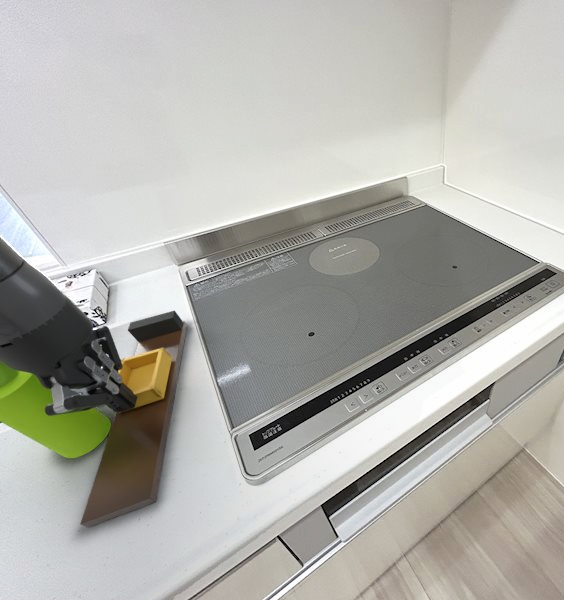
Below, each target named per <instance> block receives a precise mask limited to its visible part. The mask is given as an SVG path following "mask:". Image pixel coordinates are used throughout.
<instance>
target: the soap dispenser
mask: <svg viewBox="0 0 564 600" xmlns="http://www.w3.org/2000/svg"><path fill="white" fill-rule="evenodd" d="M52 403H53V397H52V391H51V389H47V388H45V387H43V386H42V385H41V383H40V381H39V380H38V378H37V377H36V376H35V375H34V374H31V373H28V372H23V371H18V370H14V369H11V368H10V367H8V366H7V365H5V364H4V363H2V362H1V361H0V423H2V424H4V425H6V426H7V427H9V428H11V429H13V430H14V431H16V432H18V433H20V434H22V435H23V436H26V437H27V438H29V439H31V440H32V441H34V442H36V443H38V444H39V445H41V446H43V447H45V448H47V449H48V450H51V451H52V452H54V453H56V454H57V455H60V456H61V457H63V458H65V459H76V458H80V457H82V456H84V455H86V454H88V453H91V452H92V451H93V450H95V449H96V448H97V447H98V446H100V445H101V444H102V443H103V441H104V440H105V439H106V438H107V436H109V433H110V430H111V427H112V421H111V420H110V418H109V417H107V416H106V415H105V414H103V413H102V412H101V411H99V410H98V409H96V407H94V408H92V409H90V410H86V411H80V412H73V413H67V414H60V415H53V416H48V415H47V414H46V413H45V407H46V406H47V405H49V404H52Z"/></svg>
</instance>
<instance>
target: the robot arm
mask: <svg viewBox="0 0 564 600" xmlns="http://www.w3.org/2000/svg"><path fill="white" fill-rule="evenodd" d="M121 360H122V359H121V357H120V355H119V351H118V349H117V346H116V344H115V341H114V338H113V336H112V333H111V330H110V328H109V327H108V326H107V325H103V326H99V327H96V328H94V322H93V321H92V319H91V318H90V317H89V316H88V315H87V314H86V313H85V312H83V310H81V308H79V306H77V304H75V302H73V300H72V299H70V298H69V297H68V296H67V294H65V293H64V292H63V291H62V290H61V289H60V288H59V286H57V285H56V284H55V283H54V282H53V281H52V279H50V278H49V277H48V276H47V275H46V274H45V273H44V272H42V271H41V270H39V269H38V268H37V267H36V266H34V265H33V264H32V263H30V262H29V261H28V260H27V259H25V258H24V257H23V255H22V254H20V253H19V252H18V251H17V250H16V249H15V248H14V247H13V246H12V245H11V244H10V243H9V242H8V241H7V240H6V239H5V238H4V237H3V236H2V235H0V361H1V362H2V363H4V364H5V365H7V366H8V367H10V368H11V369H14V370H18V371H23V372H28V373H31V374H34V375H35V376H36V377H37V378H38V380H39V381H40V383H41V385H42V386H43V387H45V388H47V389H51V391H52V397H53V403H52V404H49V405H47V406H46V407H45V413H46V414H47V415H48V416H53V415H60V414H67V413H73V412H80V411H86V410H90V409H92V408H98V407H101V406H104V405H105V406H106V407H108V408H109V409H110V410H111V411H113V412H114V413H115V414H116V413H119V412H123V411H126V410H129V409H132V408H134V407H135V405H136V401H137V396H136V395H135V394H134V393H133V391H132V390H131V389H129V388H128V387H127V386H126V385H125V384H124V383H123V382H122V377H121V375H120V374H119V373H118V370H121V369H122V368H123V365H122V362H121ZM83 395H85V396H83Z"/></svg>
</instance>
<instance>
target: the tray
mask: <svg viewBox="0 0 564 600" xmlns="http://www.w3.org/2000/svg"><path fill="white" fill-rule="evenodd" d="M171 361H172V357H171V356H170V355H169V353H168V352H167V351H166V350H165V349H164V348H160V349H156V350H153V351H149V352H146V353H143V354H139V355H136V356H134V355H133V356H129V357H126V358H122V359H121V362H122V365H123V368H122V369H121V370H118V373H119V374H120V375H121V377H122V382H123V383H124V384H125V385H126V386H127V387H128V388H129V389H131V390H132V391H133V393H134V394H135V395H136V396H137V401H136V405H135V407H134V408H136V407H139V406H143V405H146V404H149V403H152V402H155V401H158V400H161V399H164V395H165V390H166V386H167V381H168V376H169V371H170V366H171ZM132 409H133V408H132ZM129 410H130V409H129ZM126 411H127V410H126ZM123 412H124V411H123ZM119 413H121V412H119Z"/></svg>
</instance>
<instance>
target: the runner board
mask: <svg viewBox="0 0 564 600" xmlns="http://www.w3.org/2000/svg"><path fill="white" fill-rule="evenodd" d="M182 321H183V327H182V330H179V331H176V332H172V333H169V334H165V335H162V336H158V337H155V338H151V339H148V340H144V341H141V342H138V343H137V345H136V350H135V352H134V355H133V356H136V355H139V354H143V353H146V352H149V351H153V350H156V349H160V348H164V349H165V350H166V351H167V352H168V353H169V355H170V356H171V357H172V361H171V366H170V371H169V376H168V381H167V386H166V390H165V395H164V399H161V400H158V401H155V402H152V403H149V404H146V405H143V406H139V407H136V408H133V409H130V410H127V411H124V412H121V413H116V412H115V414H114V418H113V421H112V423H111V428H110V431H109V433H108V435H107V436H108V437H107V440H106V443H105V446H104V449H103V452H102V455H101V459H100V462H99V465H98V468H97V470H96V474H95V477H94V480H93V483H92V487H91V490H90V493H89V496H88V498H87V502H86V505H85V508H84V511H83V512H84V513H83V514H82V518H81V522H80V525H81V526H84V527H86V528H90V527H93V526H95V525H98V524H101V523H103V522H106V521H108V520H111V519H114V518H117V517H119V516H122V515H124V514H127V513H129V512H132V511H136V510H138V509H141V508H142V507H145V506H148V505H150V504H153V503H155V502H156V501H157V496H158V491H159V487H160V480H161V475H162V470H163V469H162V468H163V464H164V459H165V452H166V447H167V442H168V441H167V440H168V437H169V430H170V423H171V418H172V413H173V407H174V402H175V396H176V390H177V385H178V380H179V375H180V367H181V363H182V358H183V357H182V356H183V350H184V346H185V342H186V341H185V340H186V335H187V329H188V324H187V323H186V321H185V320H182Z"/></svg>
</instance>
